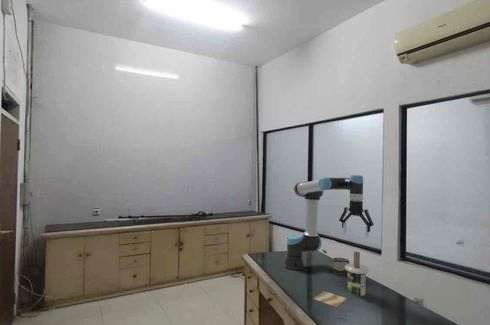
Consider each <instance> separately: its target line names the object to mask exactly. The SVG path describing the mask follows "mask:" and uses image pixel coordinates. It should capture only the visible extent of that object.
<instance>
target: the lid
mask: <svg viewBox="0 0 490 325" xmlns="http://www.w3.org/2000/svg"><path fill="white" fill-rule="evenodd" d="M345 269H346V270H347V271H349V272H352V273H356V274H366V275H367V274H368V273H369V268H368V266H365V265H362V264H361V253H360V252H359V251H353V263H349V264H347V265H345Z"/></svg>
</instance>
